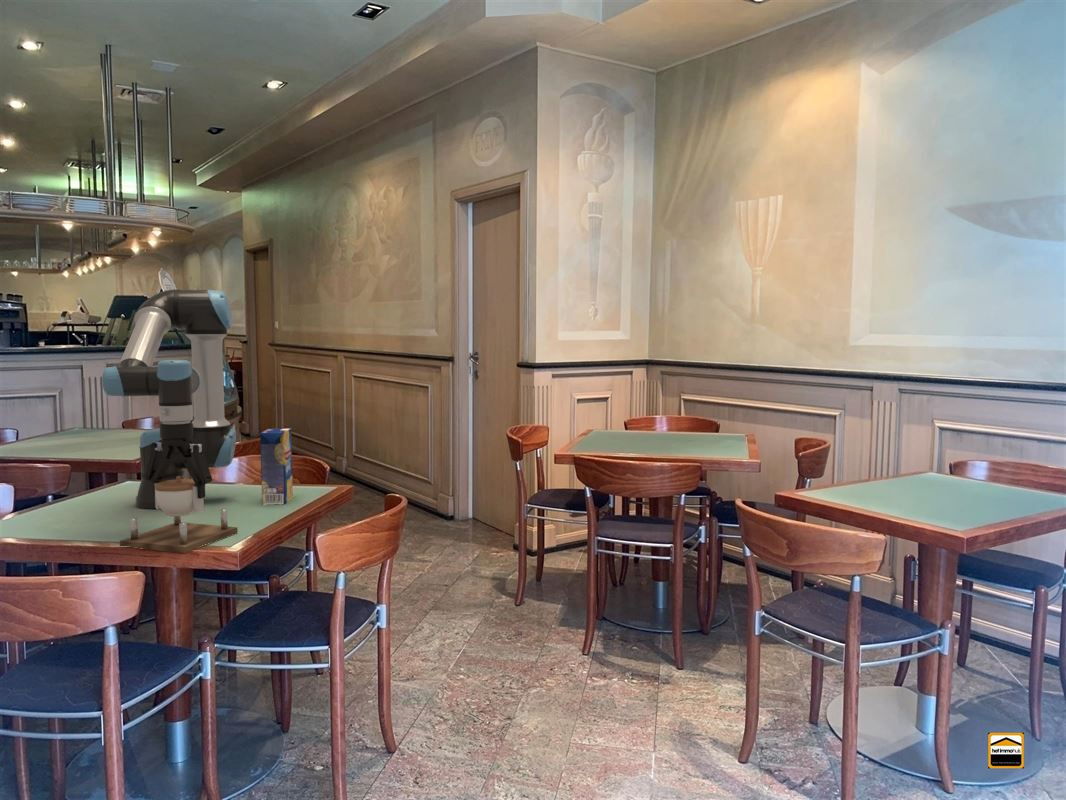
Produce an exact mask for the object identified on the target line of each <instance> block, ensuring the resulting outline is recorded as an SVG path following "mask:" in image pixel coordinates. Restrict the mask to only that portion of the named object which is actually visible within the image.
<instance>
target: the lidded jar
mask: <svg viewBox="0 0 1066 800" xmlns="http://www.w3.org/2000/svg"><path fill="white" fill-rule="evenodd" d="M194 485H195V483H194V481H193V479H192V478H185V479H181V476H176V479H175V480H167V481H162V482H159V483H156V484H155V492H156V500H157V503H158V505H159V507H160V509H159V510H161V511H162V512H164V513H165V514H166V516H167V517H174V516H182V517H183V516H187V515H192V514H194V507H193V486H194Z"/></svg>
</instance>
